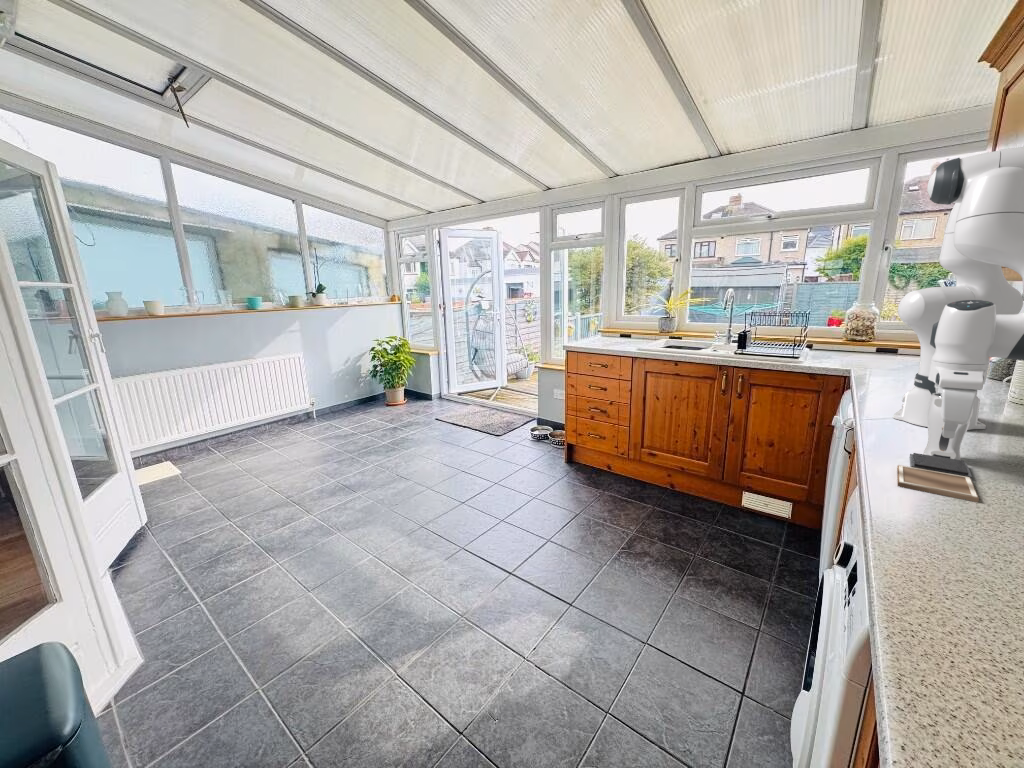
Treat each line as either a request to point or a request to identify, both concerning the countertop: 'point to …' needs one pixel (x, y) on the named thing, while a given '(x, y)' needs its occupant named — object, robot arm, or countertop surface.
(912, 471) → the board
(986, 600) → the countertop surface
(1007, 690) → the countertop surface
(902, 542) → the countertop surface
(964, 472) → the ink pad
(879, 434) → the countertop surface
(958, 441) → the beer glass
